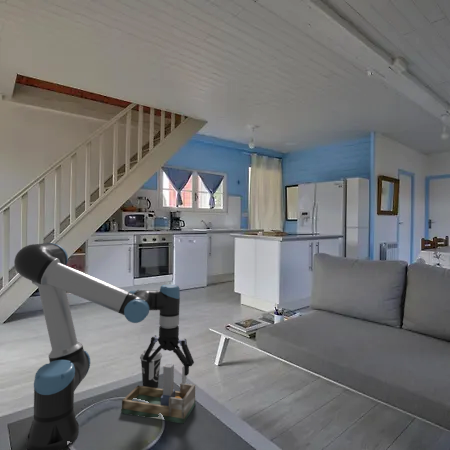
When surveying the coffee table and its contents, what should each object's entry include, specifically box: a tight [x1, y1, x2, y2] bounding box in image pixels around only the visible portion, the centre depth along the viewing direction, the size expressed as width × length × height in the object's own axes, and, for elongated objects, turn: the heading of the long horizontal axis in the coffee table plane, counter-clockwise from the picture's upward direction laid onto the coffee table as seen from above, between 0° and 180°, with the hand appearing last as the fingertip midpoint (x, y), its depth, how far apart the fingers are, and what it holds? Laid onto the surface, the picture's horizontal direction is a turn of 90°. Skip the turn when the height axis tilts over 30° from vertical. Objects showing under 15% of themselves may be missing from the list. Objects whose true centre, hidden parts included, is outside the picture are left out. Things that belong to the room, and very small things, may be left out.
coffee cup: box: [139, 348, 163, 388], centre depth 140 cm, size 10×10×15 cm
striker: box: [161, 363, 176, 406], centre depth 122 cm, size 3×7×15 cm, turn 166°
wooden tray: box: [120, 382, 196, 425], centre depth 123 cm, size 25×13×8 cm, turn 76°
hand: (167, 380), depth 122 cm, fingers open, 13 cm apart
